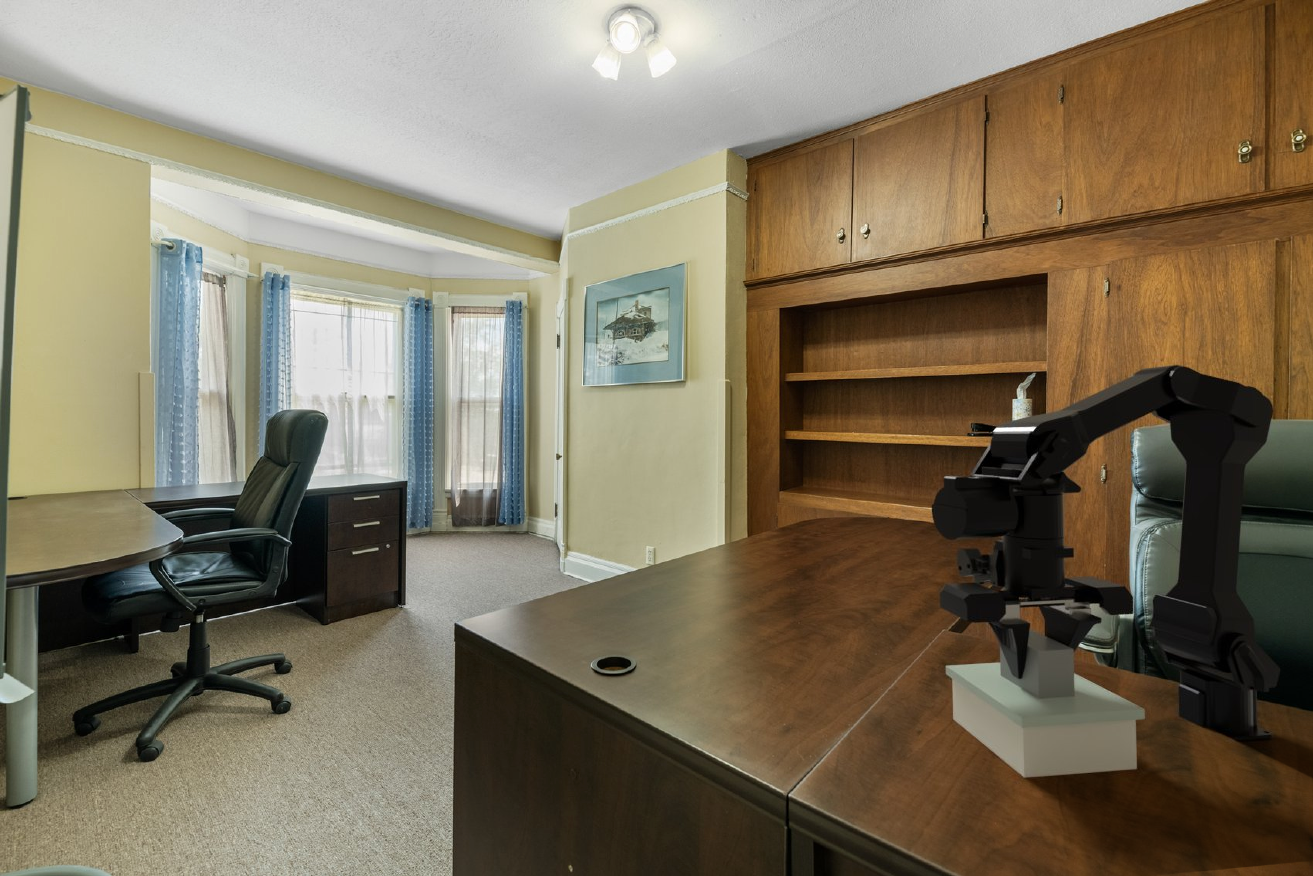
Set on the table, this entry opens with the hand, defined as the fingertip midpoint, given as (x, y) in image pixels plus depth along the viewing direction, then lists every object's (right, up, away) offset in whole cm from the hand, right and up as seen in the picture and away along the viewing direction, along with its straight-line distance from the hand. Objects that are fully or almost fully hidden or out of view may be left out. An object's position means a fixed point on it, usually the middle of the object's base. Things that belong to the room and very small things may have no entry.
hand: (1035, 676), depth 64 cm
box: (0, -8, 0) cm, 8 cm away
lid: (0, -2, 0) cm, 2 cm away
